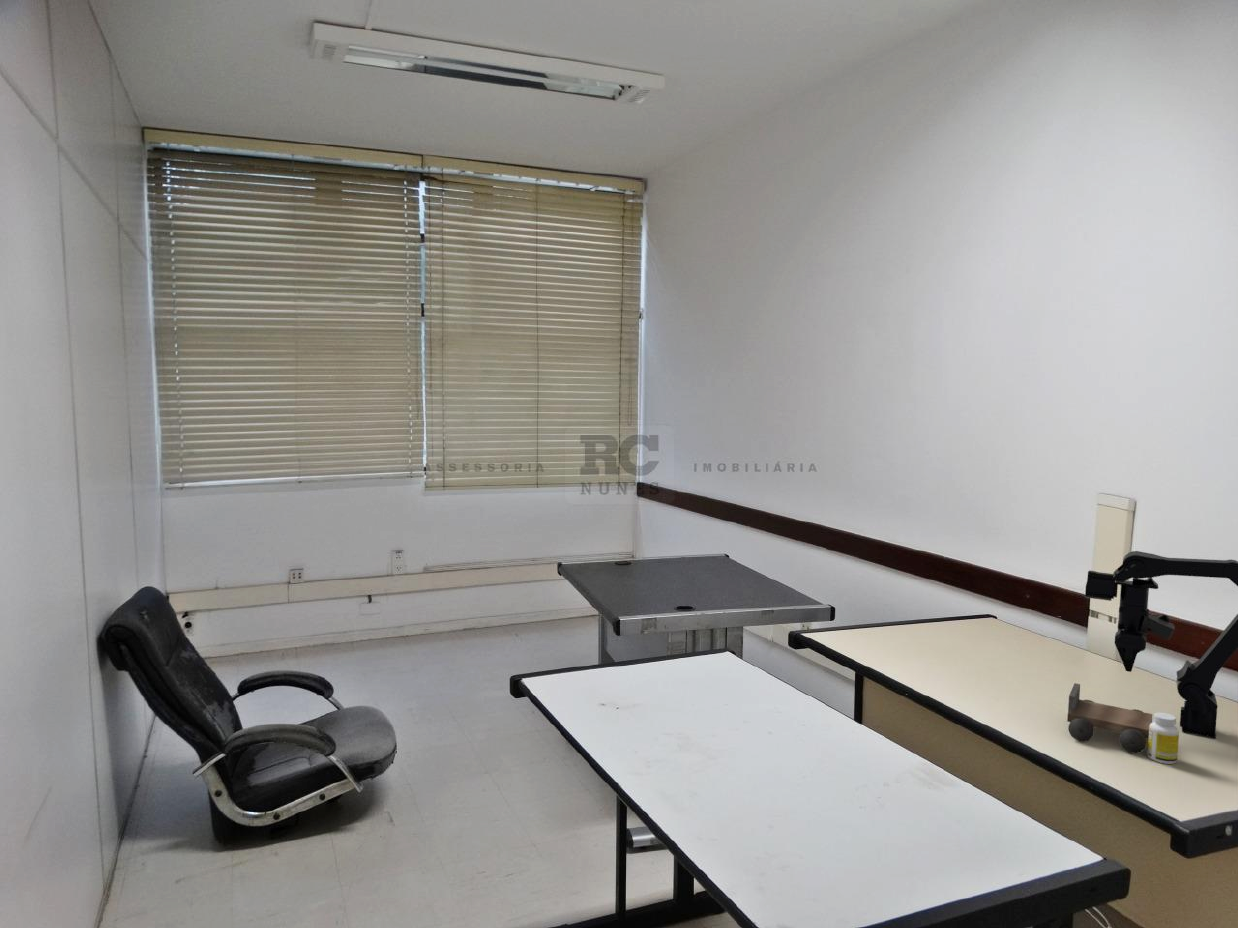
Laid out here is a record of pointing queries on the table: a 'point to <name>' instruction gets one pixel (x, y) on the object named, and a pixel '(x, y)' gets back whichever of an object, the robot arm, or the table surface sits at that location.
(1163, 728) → the supplement bottle
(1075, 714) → the trolley
